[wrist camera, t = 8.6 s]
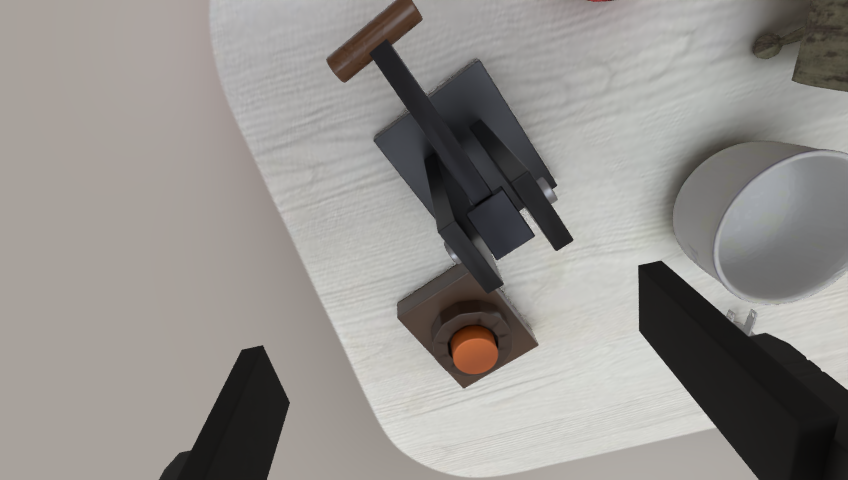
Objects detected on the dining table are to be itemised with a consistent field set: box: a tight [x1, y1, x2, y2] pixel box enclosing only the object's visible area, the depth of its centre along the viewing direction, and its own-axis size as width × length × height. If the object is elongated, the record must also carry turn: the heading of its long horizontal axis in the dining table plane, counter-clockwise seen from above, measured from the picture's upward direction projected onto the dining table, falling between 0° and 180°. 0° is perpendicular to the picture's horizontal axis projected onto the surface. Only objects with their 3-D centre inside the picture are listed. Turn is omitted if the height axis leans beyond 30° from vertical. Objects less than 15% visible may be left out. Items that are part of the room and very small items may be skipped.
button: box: [451, 325, 498, 374], centre depth 36 cm, size 4×4×2 cm
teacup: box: [673, 141, 848, 305], centre depth 33 cm, size 14×11×8 cm
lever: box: [326, 0, 535, 260], centre depth 22 cm, size 13×5×2 cm, turn 36°
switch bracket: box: [374, 59, 573, 294], centre depth 27 cm, size 11×9×14 cm
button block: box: [397, 263, 538, 388], centre depth 38 cm, size 10×8×4 cm
